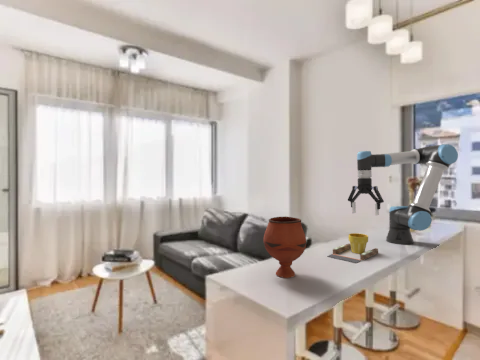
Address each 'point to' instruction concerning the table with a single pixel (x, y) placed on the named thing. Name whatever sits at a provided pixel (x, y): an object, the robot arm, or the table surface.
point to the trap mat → (344, 258)
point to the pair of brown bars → (362, 256)
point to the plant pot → (358, 242)
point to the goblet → (285, 242)
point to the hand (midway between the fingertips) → (365, 214)
